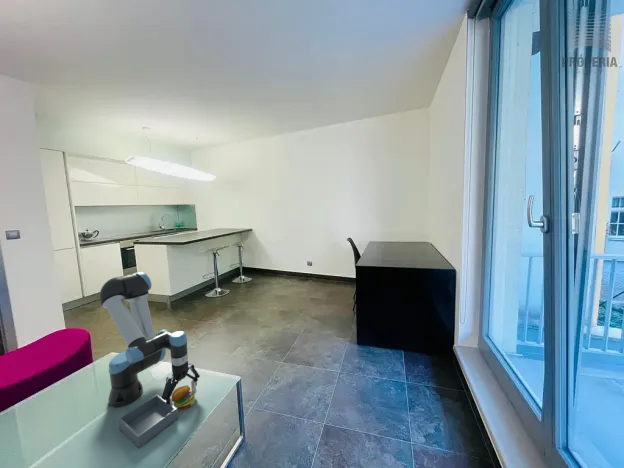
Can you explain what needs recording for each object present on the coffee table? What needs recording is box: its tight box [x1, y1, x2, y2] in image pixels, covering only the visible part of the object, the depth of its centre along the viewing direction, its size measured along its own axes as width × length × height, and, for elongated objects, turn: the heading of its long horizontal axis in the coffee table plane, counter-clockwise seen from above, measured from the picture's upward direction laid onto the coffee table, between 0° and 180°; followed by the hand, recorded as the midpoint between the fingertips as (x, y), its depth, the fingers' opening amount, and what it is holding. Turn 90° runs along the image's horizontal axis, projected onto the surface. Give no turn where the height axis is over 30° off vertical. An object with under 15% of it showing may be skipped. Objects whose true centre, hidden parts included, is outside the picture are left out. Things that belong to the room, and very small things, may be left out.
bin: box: [117, 393, 179, 450], centre depth 125 cm, size 18×18×6 cm
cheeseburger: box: [171, 385, 196, 411], centre depth 137 cm, size 10×11×10 cm
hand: (182, 399), depth 137 cm, fingers open, 12 cm apart
